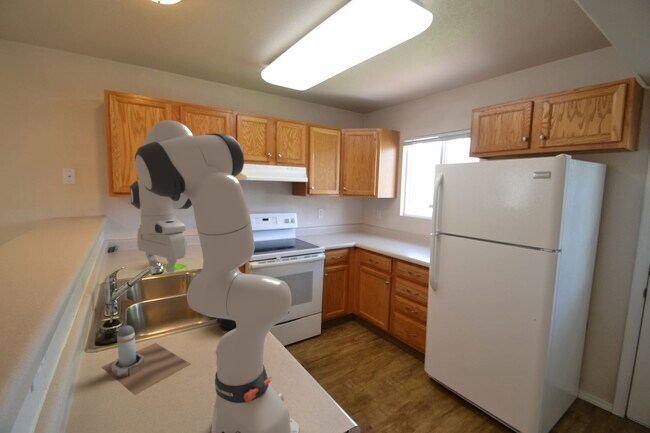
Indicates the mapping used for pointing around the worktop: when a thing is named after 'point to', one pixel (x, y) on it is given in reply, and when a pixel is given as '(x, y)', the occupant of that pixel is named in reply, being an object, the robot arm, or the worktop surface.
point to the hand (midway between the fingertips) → (161, 268)
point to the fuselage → (126, 346)
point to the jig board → (151, 368)
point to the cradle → (128, 370)
